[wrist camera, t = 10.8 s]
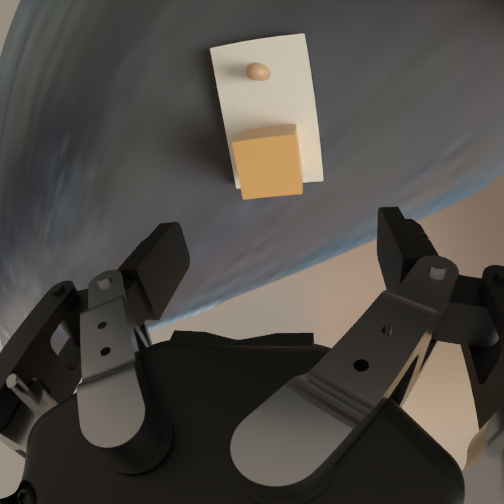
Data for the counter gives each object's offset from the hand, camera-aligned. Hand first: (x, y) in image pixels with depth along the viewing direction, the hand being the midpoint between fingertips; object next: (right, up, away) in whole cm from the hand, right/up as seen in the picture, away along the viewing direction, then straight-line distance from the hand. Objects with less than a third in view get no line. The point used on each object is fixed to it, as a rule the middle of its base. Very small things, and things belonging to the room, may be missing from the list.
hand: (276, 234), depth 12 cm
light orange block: (+1, +9, +17) cm, 19 cm away
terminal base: (+1, +13, +16) cm, 21 cm away
